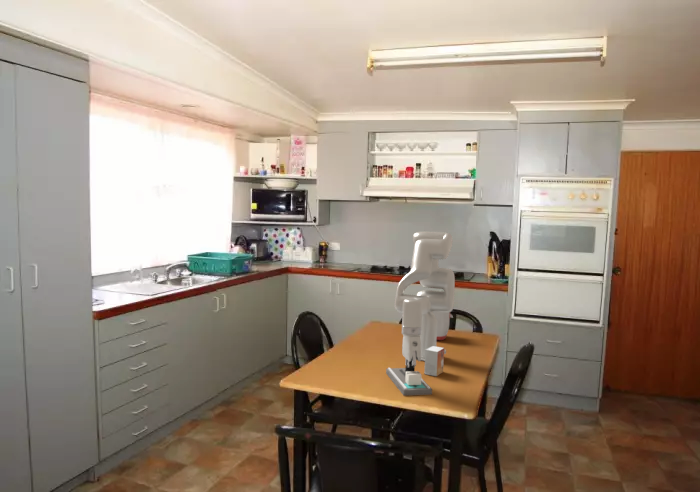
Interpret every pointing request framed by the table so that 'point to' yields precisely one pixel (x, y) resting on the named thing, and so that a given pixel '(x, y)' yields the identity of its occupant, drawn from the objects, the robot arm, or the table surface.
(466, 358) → the table surface
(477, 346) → the table surface
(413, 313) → the robot arm
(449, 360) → the table surface
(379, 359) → the table surface
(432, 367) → the small box
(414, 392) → the fader board
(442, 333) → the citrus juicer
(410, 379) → the fader knob
